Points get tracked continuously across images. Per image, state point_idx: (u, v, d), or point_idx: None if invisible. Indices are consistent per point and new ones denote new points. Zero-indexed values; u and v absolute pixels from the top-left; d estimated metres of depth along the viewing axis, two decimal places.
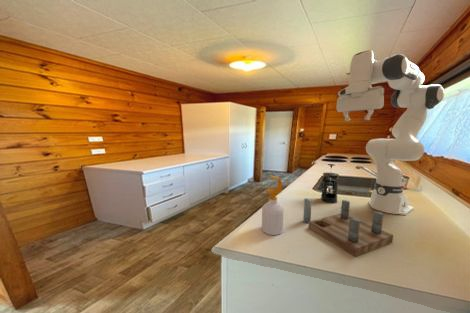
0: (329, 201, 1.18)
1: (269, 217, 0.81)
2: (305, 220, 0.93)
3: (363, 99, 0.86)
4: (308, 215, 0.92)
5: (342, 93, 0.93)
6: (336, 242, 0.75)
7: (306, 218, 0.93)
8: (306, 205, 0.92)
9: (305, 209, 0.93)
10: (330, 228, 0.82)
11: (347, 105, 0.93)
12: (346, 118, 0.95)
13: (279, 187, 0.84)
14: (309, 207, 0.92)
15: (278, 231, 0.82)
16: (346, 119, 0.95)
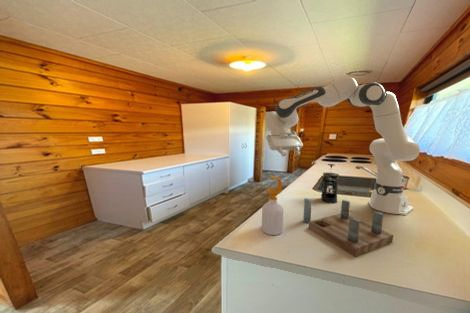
0: (329, 201, 1.18)
1: (269, 217, 0.81)
2: (305, 220, 0.93)
3: None
4: (308, 215, 0.92)
5: None
6: (336, 242, 0.75)
7: (306, 218, 0.93)
8: (306, 205, 0.92)
9: (305, 209, 0.93)
10: (330, 228, 0.82)
11: None
12: None
13: (279, 187, 0.84)
14: (309, 207, 0.92)
15: (278, 231, 0.82)
16: None
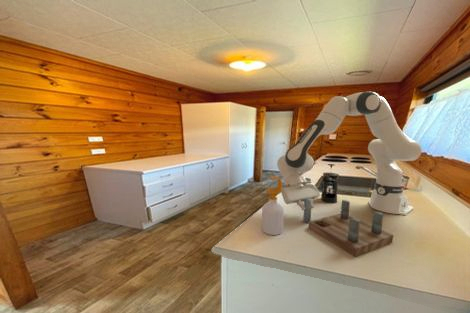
0: (329, 201, 1.18)
1: (269, 217, 0.81)
2: (305, 220, 0.93)
3: None
4: (308, 215, 0.92)
5: None
6: (336, 242, 0.75)
7: (306, 218, 0.93)
8: (306, 205, 0.92)
9: None
10: (330, 228, 0.82)
11: None
12: None
13: (279, 187, 0.84)
14: (309, 207, 0.92)
15: (278, 231, 0.82)
16: None
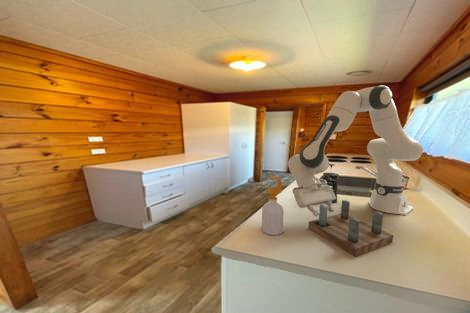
0: None
1: (269, 217, 0.81)
2: None
3: None
4: (324, 223, 0.84)
5: None
6: (336, 242, 0.75)
7: None
8: (322, 212, 0.84)
9: (321, 217, 0.85)
10: (330, 228, 0.82)
11: None
12: None
13: (279, 187, 0.84)
14: (325, 215, 0.84)
15: (278, 231, 0.82)
16: None
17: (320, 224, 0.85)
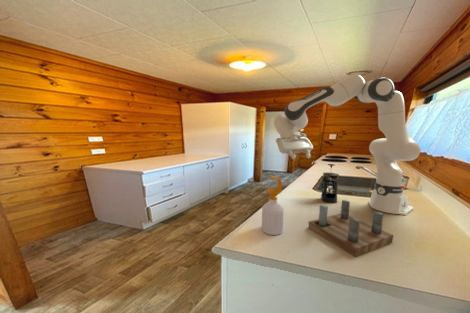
0: (329, 201, 1.18)
1: (269, 217, 0.81)
2: None
3: None
4: (324, 223, 0.84)
5: None
6: (336, 242, 0.75)
7: None
8: (322, 212, 0.84)
9: (321, 217, 0.85)
10: (330, 228, 0.82)
11: None
12: None
13: (279, 187, 0.84)
14: (325, 215, 0.84)
15: (278, 231, 0.82)
16: None
17: (320, 224, 0.85)
